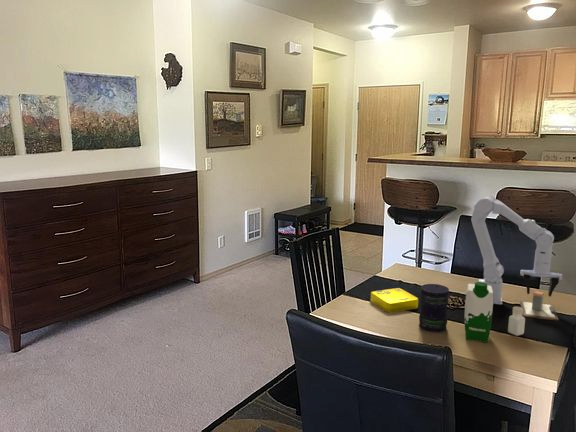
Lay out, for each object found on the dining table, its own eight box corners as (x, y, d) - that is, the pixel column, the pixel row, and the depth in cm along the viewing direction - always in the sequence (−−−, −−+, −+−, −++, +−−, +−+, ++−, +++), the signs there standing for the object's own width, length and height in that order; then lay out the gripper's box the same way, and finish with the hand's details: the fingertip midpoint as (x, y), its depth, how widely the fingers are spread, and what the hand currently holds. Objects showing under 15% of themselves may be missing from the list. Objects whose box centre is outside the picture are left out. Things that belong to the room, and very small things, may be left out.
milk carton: (463, 340, 163) (467, 284, 160) (462, 329, 172) (466, 276, 168) (491, 344, 160) (495, 287, 157) (489, 333, 169) (493, 279, 165)
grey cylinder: (531, 309, 189) (533, 292, 187) (533, 307, 191) (535, 290, 190) (540, 311, 187) (541, 294, 185) (542, 309, 189) (544, 292, 188)
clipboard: (523, 316, 184) (523, 312, 184) (519, 302, 198) (520, 299, 198) (558, 320, 180) (559, 317, 179) (552, 306, 194) (552, 302, 194)
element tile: (387, 314, 187) (388, 302, 186) (368, 301, 201) (369, 290, 200) (419, 309, 192) (420, 297, 192) (399, 296, 206) (399, 286, 205)
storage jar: (442, 335, 167) (445, 294, 165) (415, 329, 173) (417, 289, 170) (449, 325, 176) (452, 286, 173) (423, 319, 181) (425, 282, 178)
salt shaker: (516, 336, 166) (519, 310, 164) (507, 332, 170) (509, 307, 168) (524, 334, 168) (526, 308, 166) (514, 330, 171) (516, 305, 170)
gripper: (523, 262, 186) (519, 295, 189) (565, 266, 181) (561, 300, 184) (521, 257, 193) (518, 289, 195) (562, 261, 187) (558, 294, 190)
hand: (538, 294), depth 190 cm, fingers open, 7 cm apart
